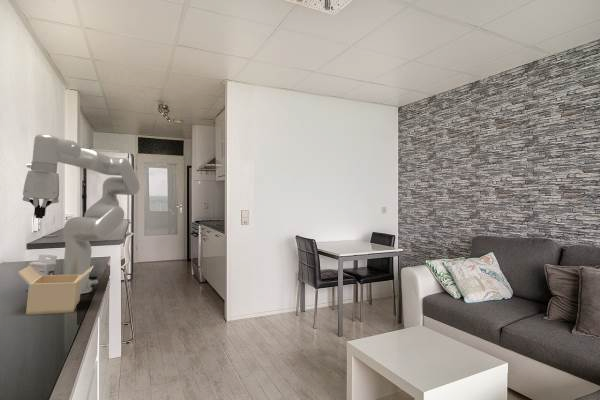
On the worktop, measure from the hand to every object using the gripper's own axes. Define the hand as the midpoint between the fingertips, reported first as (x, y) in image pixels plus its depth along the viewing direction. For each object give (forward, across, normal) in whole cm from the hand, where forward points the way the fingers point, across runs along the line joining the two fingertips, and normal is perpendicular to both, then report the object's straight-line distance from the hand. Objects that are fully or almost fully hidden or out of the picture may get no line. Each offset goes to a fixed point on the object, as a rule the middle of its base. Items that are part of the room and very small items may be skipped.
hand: (39, 218), depth 124 cm
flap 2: (+19, +17, -7) cm, 26 cm away
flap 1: (+19, 0, -7) cm, 20 cm away
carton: (+31, +8, -7) cm, 33 cm away
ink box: (+31, -1, +21) cm, 38 cm away
